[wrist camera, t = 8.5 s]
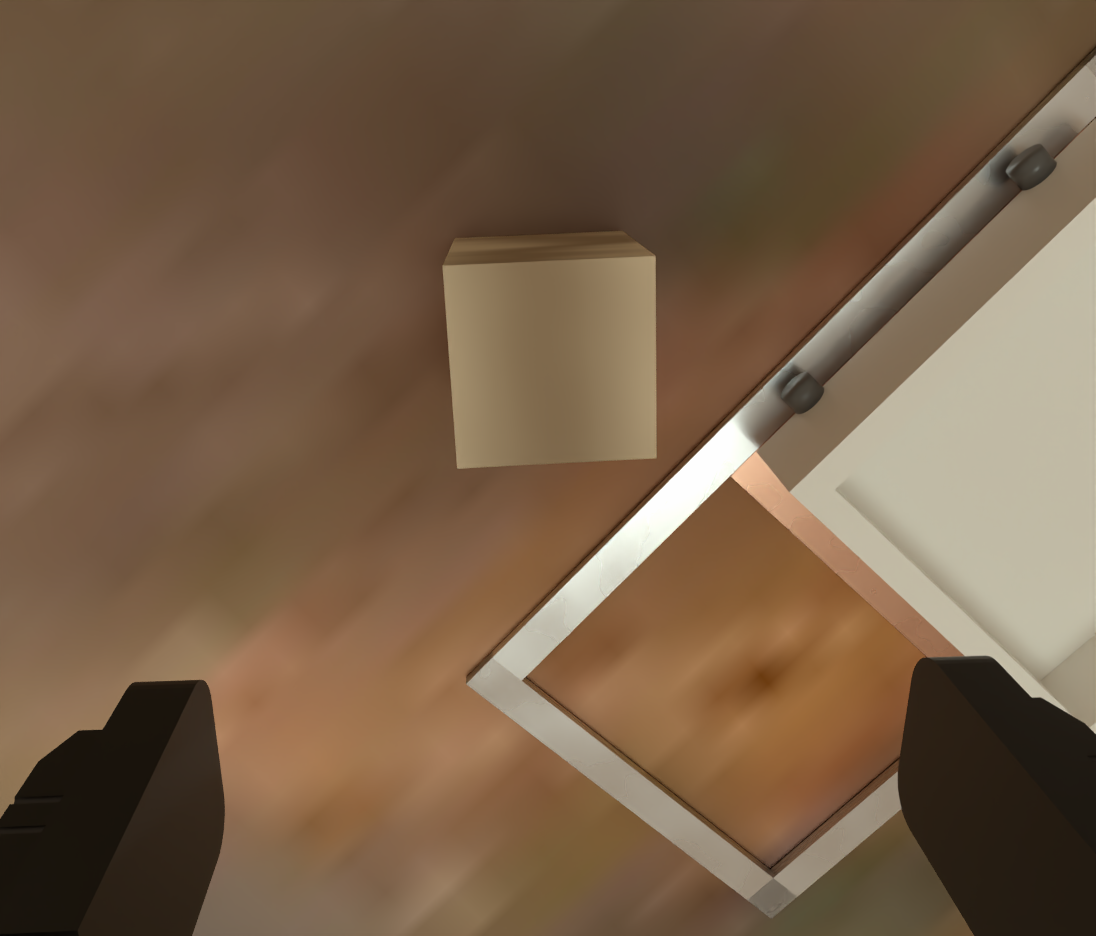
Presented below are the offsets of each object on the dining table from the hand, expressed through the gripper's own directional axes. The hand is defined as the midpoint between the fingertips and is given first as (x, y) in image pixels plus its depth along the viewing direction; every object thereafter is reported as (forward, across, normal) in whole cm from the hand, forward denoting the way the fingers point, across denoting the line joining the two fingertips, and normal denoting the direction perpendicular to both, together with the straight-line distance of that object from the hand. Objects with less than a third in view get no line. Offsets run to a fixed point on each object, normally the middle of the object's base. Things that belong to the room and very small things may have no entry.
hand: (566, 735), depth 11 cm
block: (+18, -1, -1) cm, 18 cm away
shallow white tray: (+17, -15, +2) cm, 23 cm away
